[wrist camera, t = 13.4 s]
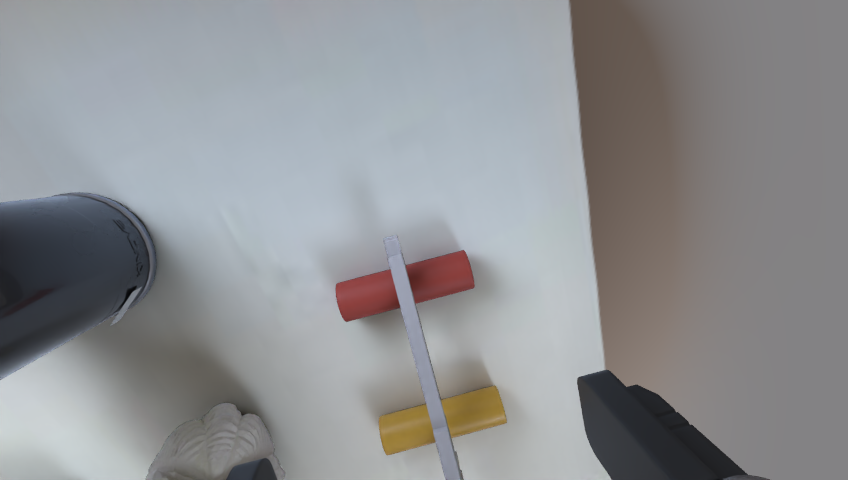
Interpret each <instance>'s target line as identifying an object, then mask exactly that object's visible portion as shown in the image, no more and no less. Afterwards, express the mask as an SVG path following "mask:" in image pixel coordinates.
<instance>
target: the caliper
mask: <svg viewBox="0 0 848 480" xmlns="http://www.w3.org/2000/svg"><path fill="white" fill-rule="evenodd" d="M383 240H384V244H385V248H386V252H387V256H388V262H389V266H390V270H391V273H392V277H393V281H394V285H395V288H396V292H397V296H398V300H399V304H400V307H401V311H402V315H403V319H404V322H405V326H406V330H407V334H408V337H409V341H410V345H411V349H412V353H413V356H414V360H415V364H416V368H417V371H418V375H419V379H420V383H421V386H422V390H423V394H424V398H425V402H426V405H427V409H428V413H429V417H430V420H431V424H432V428H433V434H434V438H435V441H436V445H437V449H438V453H439V456H440V460H441V464H442V468H443V472H444V475H445V479H446V480H464V479H463V475H462V471H461V470H460V467H459V461H458V456H457V452H456V451H454V446H453V442H452V438H451V434H450V431H449V427H448V423H447V419H446V415H445V414H444V410H443V406H442V402H441V398H440V395H439V391H438V387H437V383H436V380H435V376H434V372H433V368H432V364H431V361H430V357H429V353H428V349H427V345H426V342H425V338H424V334H423V330H422V326H421V323H420V319H419V315H418V311H417V307H416V304H415V300H414V296H413V292H412V289H411V285H410V281H409V277H408V273H407V270H406V266H405V262H404V258H403V254H402V252H401V248H400V244H399V241H398V237H397V235H394V236H390V237H386V238H383Z"/></svg>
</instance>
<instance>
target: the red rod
mask: <svg viewBox="0 0 848 480" xmlns="http://www.w3.org/2000/svg"><path fill="white" fill-rule="evenodd" d="M405 266H406V270H407V273H408V277H409V281H410V285H411V289H412V292H413V296H414V300H415V304H416V303H420V302H424V301H428V300H432V299H435V298H439V297H443V296H447V295H450V294H454V293H458V292H462V291H466V290H469V289H473V288H474V287H475V285H474V278H473V274H472V270H471V266H470V263H469V260H468V257H467V254H466V252H465V251H464V250H462V251H458V252H455V253H451V254H447V255H443V256H439V257H436V258H432V259H428V260H424V261H420V262H416V263H413V264H409V265H405ZM336 298H337V303H338V307H339V310H340V313H341V315H342V318H343V319H344V321H346V322H348V321H352V320H356V319H360V318H363V317H367V316H371V315H375V314H378V313H382V312H386V311H390V310H394V309H397V308H401V307H400V304H399V300H398V296H397V292H396V288H395V285H394V281H393V277H392V273H391V270H386V271H382V272H378V273H374V274H371V275H367V276H363V277H359V278H355V279H352V280H348V281H344V282H340V283H337V284H336Z"/></svg>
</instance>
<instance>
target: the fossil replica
mask: <svg viewBox="0 0 848 480" xmlns="http://www.w3.org/2000/svg"><path fill="white" fill-rule="evenodd" d="M274 450H275V448H274V444H273V442H272V440H271V437H270V434H269V432H268V430H267V428H266V426H265V425H264V424H263V422H262V420H261V419H260V417H259V416H257V415H254V414H245V415H243V416H242V415H241V412H240V411H238V410H237V407H236V406H235V405H234V404H230V403H222V404H219V405H216V406H214V407H213V408H212V409H211V410H210V411H209V412H208V413H207V414H206V415H204V417H202V420H191V421H188V422H185V423H184V424H182V425H180V426H178V427H177V428H176V429H175V431H174V432H173V433H172V434H171V435H170V436H168V438H167V440H166V441H165V443H164V445H163V447H162V449H161V451H160V452H159V453H158V455H157V456H156V458H155V459H154V461H153V463H152V464H151V466H150V468H149V473H148V475H147V476H146V480H226V479H227V477H228V475H229V473H230V471H231V470H232V468H233V467H234V466H236V465H240V464H243V463H247V462H251V461H255V460H259V459H263V458H267V459H269V460H270V462H271V464H272V466H273V469H274V472H275V474H276V477H277V480H283V479H284V476H285V471H284V470H283V468H282V467H281V466H280V463H279V460H278V459H277V458H276V457H275V456H274V455H273V454H274Z"/></svg>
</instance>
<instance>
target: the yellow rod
mask: <svg viewBox="0 0 848 480" xmlns="http://www.w3.org/2000/svg"><path fill="white" fill-rule="evenodd" d="M441 402H442V406H443V410H444V414H445V415H446V419H447V423H448V427H449V431H450V434H451V438H454V437H457V436H461V435H465V434H469V433H472V432H476V431H480V430H483V429H487V428H491V427H494V426H498V425H502V424H506V423H507V420H506V415H505V411H504V407H503V404H502V401H501V398H500V395H499V392H498V389H497V387H496V386H495V385H494V386H490V387H487V388H483V389H479V390H475V391H472V392H468V393H464V394H461V395H457V396H453V397H449V398H446V399H442V400H441ZM379 430H380V437H381V441H382V445H383V449H384V451H385V453H386V455H391V454H395V453H398V452H402V451H406V450H409V449H413V448H417V447H420V446H424V445H428V444H432V443H435V442H436V441H435V438H434V434H433V428H432V424H431V420H430V417H429V413H428V409H427V405H426V404H423V405H420V406H416V407H412V408H408V409H405V410H401V411H397V412H394V413H390V414H386V415H382V416H380V417H379Z"/></svg>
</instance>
